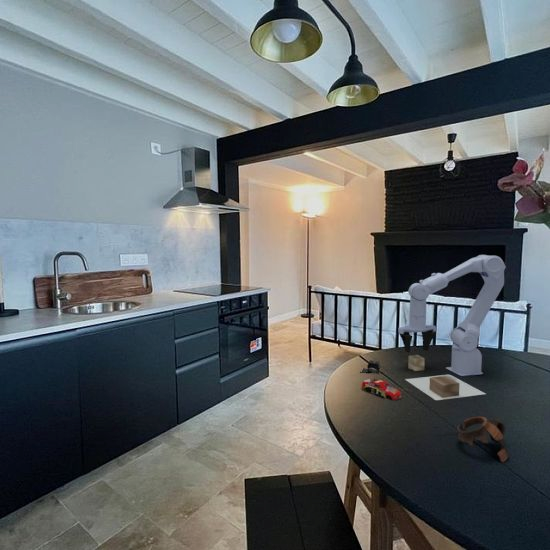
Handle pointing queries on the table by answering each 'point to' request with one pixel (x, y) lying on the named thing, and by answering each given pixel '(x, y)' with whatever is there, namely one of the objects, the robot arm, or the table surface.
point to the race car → (381, 389)
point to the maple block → (416, 362)
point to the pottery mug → (484, 433)
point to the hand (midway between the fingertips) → (416, 350)
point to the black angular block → (372, 365)
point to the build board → (424, 386)
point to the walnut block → (444, 386)
